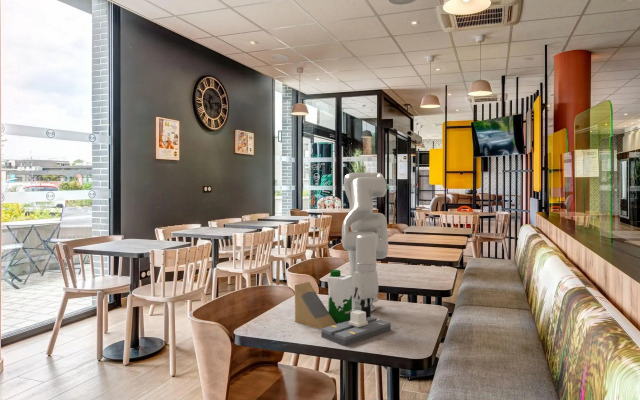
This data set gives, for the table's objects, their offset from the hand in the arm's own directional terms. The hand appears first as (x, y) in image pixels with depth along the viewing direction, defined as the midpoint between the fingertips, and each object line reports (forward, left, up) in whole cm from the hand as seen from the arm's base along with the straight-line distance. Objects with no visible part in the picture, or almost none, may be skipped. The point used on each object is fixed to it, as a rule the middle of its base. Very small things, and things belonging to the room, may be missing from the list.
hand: (365, 316), depth 170 cm
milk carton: (-1, -15, -6) cm, 16 cm away
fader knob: (+4, 0, -3) cm, 5 cm away
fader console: (+5, 0, -5) cm, 7 cm away
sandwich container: (+8, -19, -6) cm, 22 cm away
